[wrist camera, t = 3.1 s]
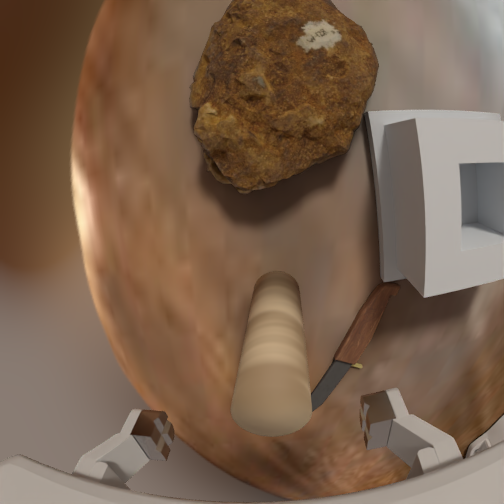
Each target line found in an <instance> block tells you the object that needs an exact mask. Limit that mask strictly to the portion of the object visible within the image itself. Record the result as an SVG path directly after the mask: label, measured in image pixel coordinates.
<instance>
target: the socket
mask: <svg viewBox="0 0 504 504" xmlns="http://www.w3.org/2000/svg"><path fill="white" fill-rule="evenodd" d="M364 116H365V121H366V127H367V133H368V139H369V146H370V153H371V160H372V168H373V176H374V185H375V194H376V205H377V217H378V231H379V250H380V277H381V279H382V280H383V281H384V282H389V281H395V280H400V279H406V278H407V279H408V281H409V282H410V283H411V284H412V285H413V286H414V287H415V288H416V289H417V291H418V292H419V293H420V294H421V295H422V296H423V297H424V298H426V297H430V296H435V295H440V294H444V293H448V292H453V291H457V290H461V289H465V288H470V287H474V286H478V285H482V284H485V283H489V282H493V281H497V280H501V279H504V121H501V118H500V114H499V113H488V112H474V111H456V110H388V111H368V112H366V113H364Z"/></svg>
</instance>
